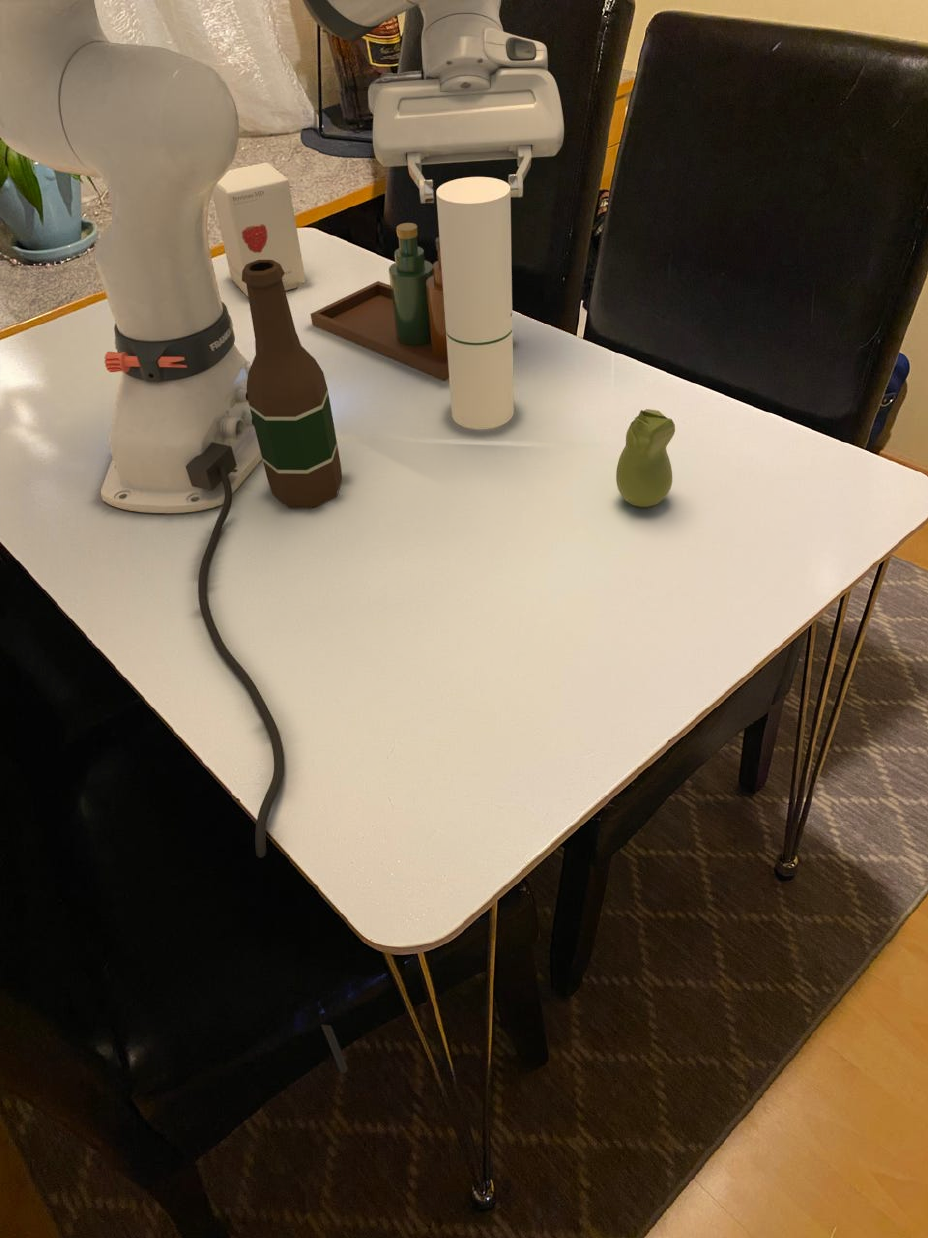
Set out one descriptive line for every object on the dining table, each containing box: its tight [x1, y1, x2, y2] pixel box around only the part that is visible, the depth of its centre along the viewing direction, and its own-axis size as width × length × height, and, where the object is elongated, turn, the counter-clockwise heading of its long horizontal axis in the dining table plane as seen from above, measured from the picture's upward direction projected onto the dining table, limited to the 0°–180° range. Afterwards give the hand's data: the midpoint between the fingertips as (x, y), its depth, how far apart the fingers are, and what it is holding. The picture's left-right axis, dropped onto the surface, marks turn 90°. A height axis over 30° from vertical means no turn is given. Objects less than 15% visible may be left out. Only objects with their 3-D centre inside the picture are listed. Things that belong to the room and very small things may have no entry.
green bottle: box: [388, 222, 433, 346], centre depth 113 cm, size 6×6×14 cm
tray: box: [310, 280, 449, 382], centre depth 118 cm, size 25×13×2 cm, turn 47°
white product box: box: [211, 161, 307, 299], centre depth 128 cm, size 9×9×15 cm
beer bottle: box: [242, 260, 343, 509], centre depth 87 cm, size 8×8×24 cm
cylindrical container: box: [435, 176, 515, 430], centre depth 95 cm, size 7×7×25 cm
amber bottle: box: [426, 236, 448, 361], centre depth 109 cm, size 6×6×14 cm
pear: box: [615, 408, 676, 508], centre depth 87 cm, size 6×5×10 cm
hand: (471, 197), depth 95 cm, fingers open, 8 cm apart
